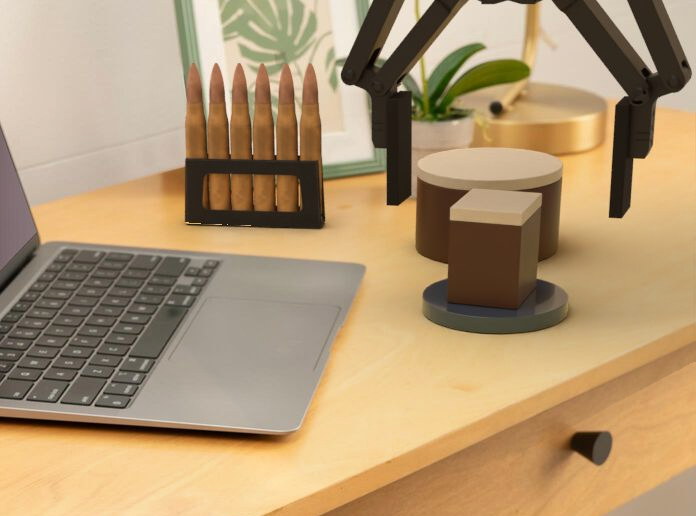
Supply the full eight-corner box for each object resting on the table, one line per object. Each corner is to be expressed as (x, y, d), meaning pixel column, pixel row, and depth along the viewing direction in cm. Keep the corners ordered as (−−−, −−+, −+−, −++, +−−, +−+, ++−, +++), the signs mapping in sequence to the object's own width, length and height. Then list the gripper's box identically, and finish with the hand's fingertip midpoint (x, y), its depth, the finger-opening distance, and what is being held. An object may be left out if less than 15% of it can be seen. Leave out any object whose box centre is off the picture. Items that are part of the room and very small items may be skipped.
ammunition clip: (184, 224, 116) (177, 64, 110) (190, 218, 117) (184, 60, 112) (321, 228, 113) (320, 65, 108) (325, 222, 115) (325, 61, 109)
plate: (524, 281, 99) (524, 267, 99) (594, 322, 91) (596, 306, 91) (398, 298, 97) (399, 283, 97) (460, 341, 89) (461, 325, 89)
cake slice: (468, 280, 97) (472, 188, 94) (536, 286, 95) (542, 193, 92) (446, 303, 93) (449, 207, 90) (516, 310, 91) (522, 212, 88)
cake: (515, 222, 113) (520, 141, 110) (584, 256, 104) (590, 170, 101) (392, 237, 110) (394, 155, 107) (452, 273, 101) (455, 186, 99)
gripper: (281, -161, 84) (293, 210, 93) (748, -184, 74) (710, 235, 83) (328, -168, 90) (335, 181, 99) (765, -190, 80) (728, 201, 89)
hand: (506, 206), depth 91 cm, fingers open, 13 cm apart
